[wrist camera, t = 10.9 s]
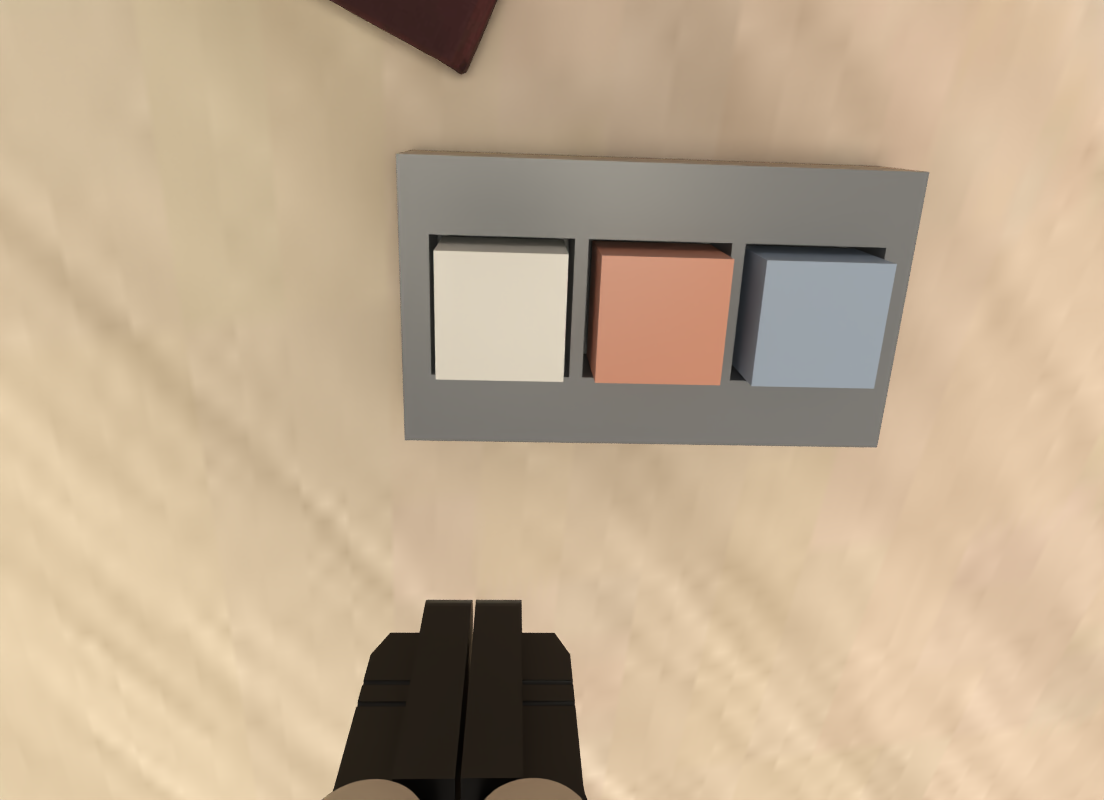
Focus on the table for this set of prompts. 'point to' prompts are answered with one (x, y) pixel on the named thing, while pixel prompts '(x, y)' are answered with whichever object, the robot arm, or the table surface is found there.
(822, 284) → the key blue
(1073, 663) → the table surface
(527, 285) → the key white
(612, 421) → the console
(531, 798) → the robot arm
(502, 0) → the table surface
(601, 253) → the key terracotta
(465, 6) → the book
